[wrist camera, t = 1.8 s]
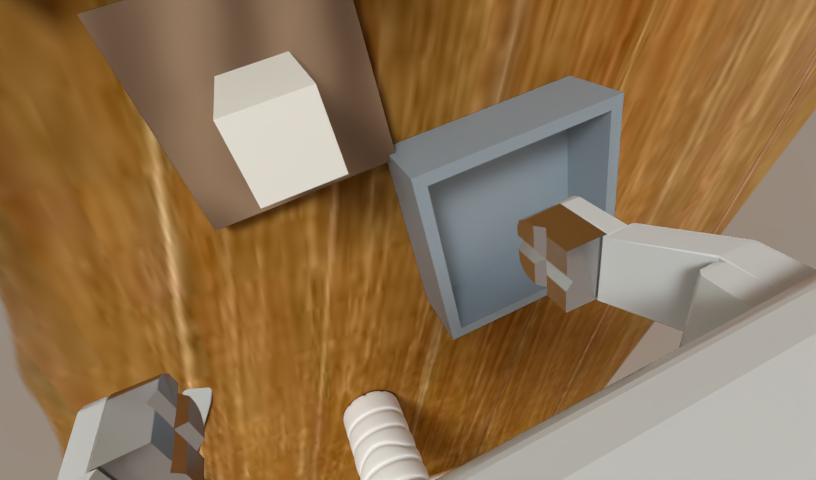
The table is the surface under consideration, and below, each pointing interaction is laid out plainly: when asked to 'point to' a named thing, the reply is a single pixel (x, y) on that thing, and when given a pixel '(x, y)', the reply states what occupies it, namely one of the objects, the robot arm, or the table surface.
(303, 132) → the ivory rectangular pillar
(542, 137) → the slate bin
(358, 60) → the walnut base
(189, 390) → the fork
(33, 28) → the table surface
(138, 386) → the robot arm
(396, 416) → the water bottle
